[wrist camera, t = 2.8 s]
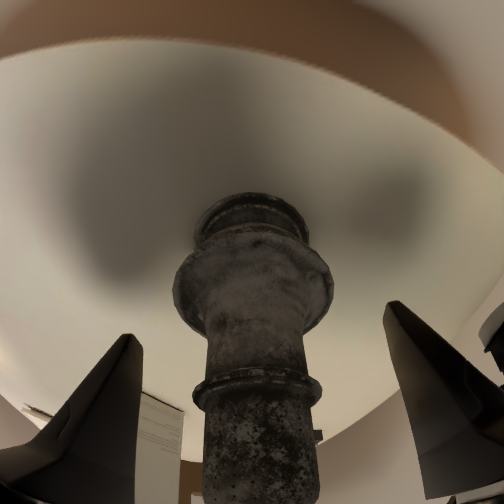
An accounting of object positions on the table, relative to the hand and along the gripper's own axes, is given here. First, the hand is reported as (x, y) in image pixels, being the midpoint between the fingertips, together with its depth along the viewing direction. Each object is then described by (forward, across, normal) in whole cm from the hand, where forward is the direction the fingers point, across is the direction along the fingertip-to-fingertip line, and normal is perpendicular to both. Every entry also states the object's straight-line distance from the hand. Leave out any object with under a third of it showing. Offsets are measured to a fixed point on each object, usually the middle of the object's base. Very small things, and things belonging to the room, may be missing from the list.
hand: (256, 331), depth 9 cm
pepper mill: (+5, 0, 0) cm, 5 cm away
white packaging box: (+5, +15, +18) cm, 25 cm away
